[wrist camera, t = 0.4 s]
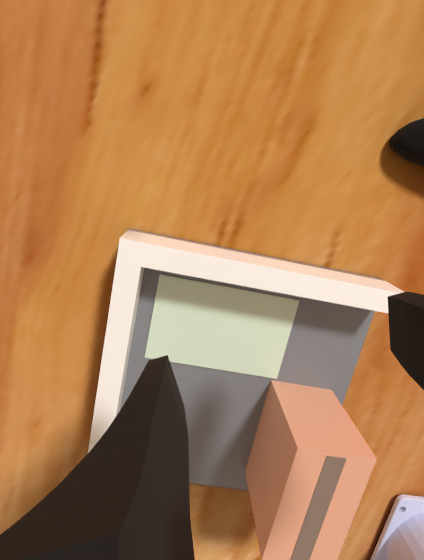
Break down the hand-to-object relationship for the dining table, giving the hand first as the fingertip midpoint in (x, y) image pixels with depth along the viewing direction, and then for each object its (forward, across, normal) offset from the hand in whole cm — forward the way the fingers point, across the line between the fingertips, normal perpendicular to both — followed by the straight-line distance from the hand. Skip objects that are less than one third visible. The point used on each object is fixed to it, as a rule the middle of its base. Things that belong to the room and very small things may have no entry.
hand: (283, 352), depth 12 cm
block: (+9, -1, +12) cm, 15 cm away
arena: (+10, +2, +8) cm, 13 cm away
